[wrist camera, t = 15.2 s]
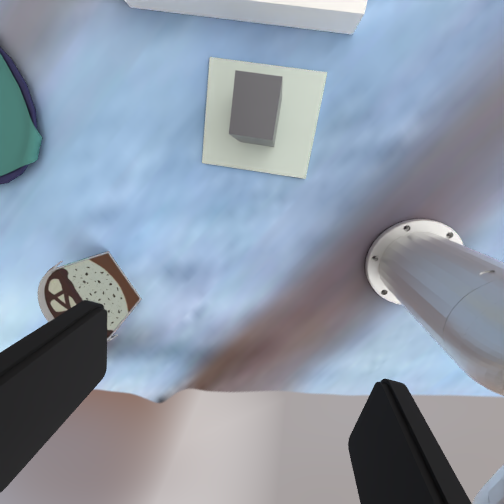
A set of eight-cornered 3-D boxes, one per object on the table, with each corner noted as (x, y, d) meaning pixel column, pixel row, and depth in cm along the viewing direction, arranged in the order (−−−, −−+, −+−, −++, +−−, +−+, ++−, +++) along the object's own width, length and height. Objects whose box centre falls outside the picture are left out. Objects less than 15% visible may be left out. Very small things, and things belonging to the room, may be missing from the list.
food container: (75, 258, 41) (14, 285, 32) (103, 243, 40) (47, 266, 30) (119, 318, 44) (75, 359, 34) (146, 305, 42) (108, 345, 33)
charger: (282, 98, 30) (283, 74, 23) (274, 147, 32) (272, 140, 25) (246, 93, 31) (235, 68, 23) (240, 142, 32) (228, 133, 25)
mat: (326, 73, 30) (327, 72, 29) (305, 178, 33) (305, 178, 33) (210, 58, 30) (209, 56, 30) (203, 163, 34) (202, 162, 34)
